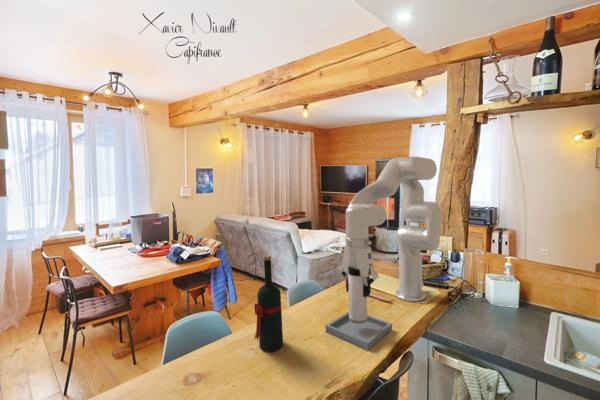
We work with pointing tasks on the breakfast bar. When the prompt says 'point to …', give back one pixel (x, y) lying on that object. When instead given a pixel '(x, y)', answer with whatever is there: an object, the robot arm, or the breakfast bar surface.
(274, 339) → the wine bottle
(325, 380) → the breakfast bar surface
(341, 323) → the tray
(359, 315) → the travel mug
